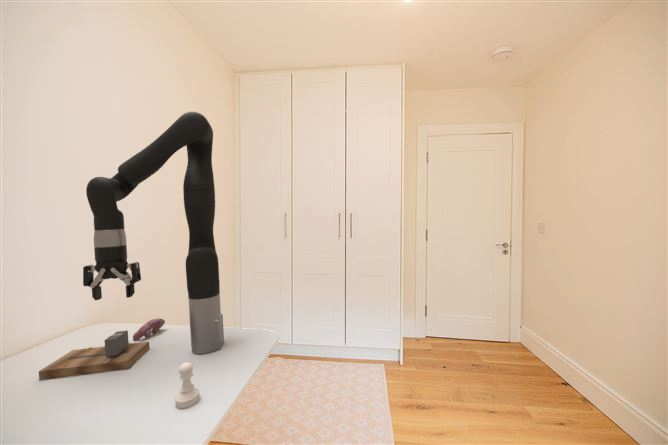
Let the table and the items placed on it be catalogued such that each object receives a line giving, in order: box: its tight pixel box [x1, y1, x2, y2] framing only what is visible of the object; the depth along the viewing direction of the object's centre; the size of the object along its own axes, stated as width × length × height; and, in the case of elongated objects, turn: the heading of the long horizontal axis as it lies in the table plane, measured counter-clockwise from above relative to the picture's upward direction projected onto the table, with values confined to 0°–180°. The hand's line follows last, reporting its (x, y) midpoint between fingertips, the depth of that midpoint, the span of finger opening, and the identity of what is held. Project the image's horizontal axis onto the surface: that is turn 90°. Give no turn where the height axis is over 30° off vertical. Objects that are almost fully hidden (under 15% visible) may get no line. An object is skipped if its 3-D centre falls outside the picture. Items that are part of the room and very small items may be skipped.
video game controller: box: [132, 317, 166, 341], centre depth 101 cm, size 10×5×7 cm, turn 169°
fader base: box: [38, 341, 151, 381], centre depth 82 cm, size 22×12×3 cm, turn 100°
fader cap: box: [104, 329, 129, 357], centre depth 83 cm, size 3×6×5 cm, turn 10°
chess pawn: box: [174, 362, 201, 410], centre depth 63 cm, size 5×5×9 cm
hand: (114, 298), depth 82 cm, fingers open, 8 cm apart
